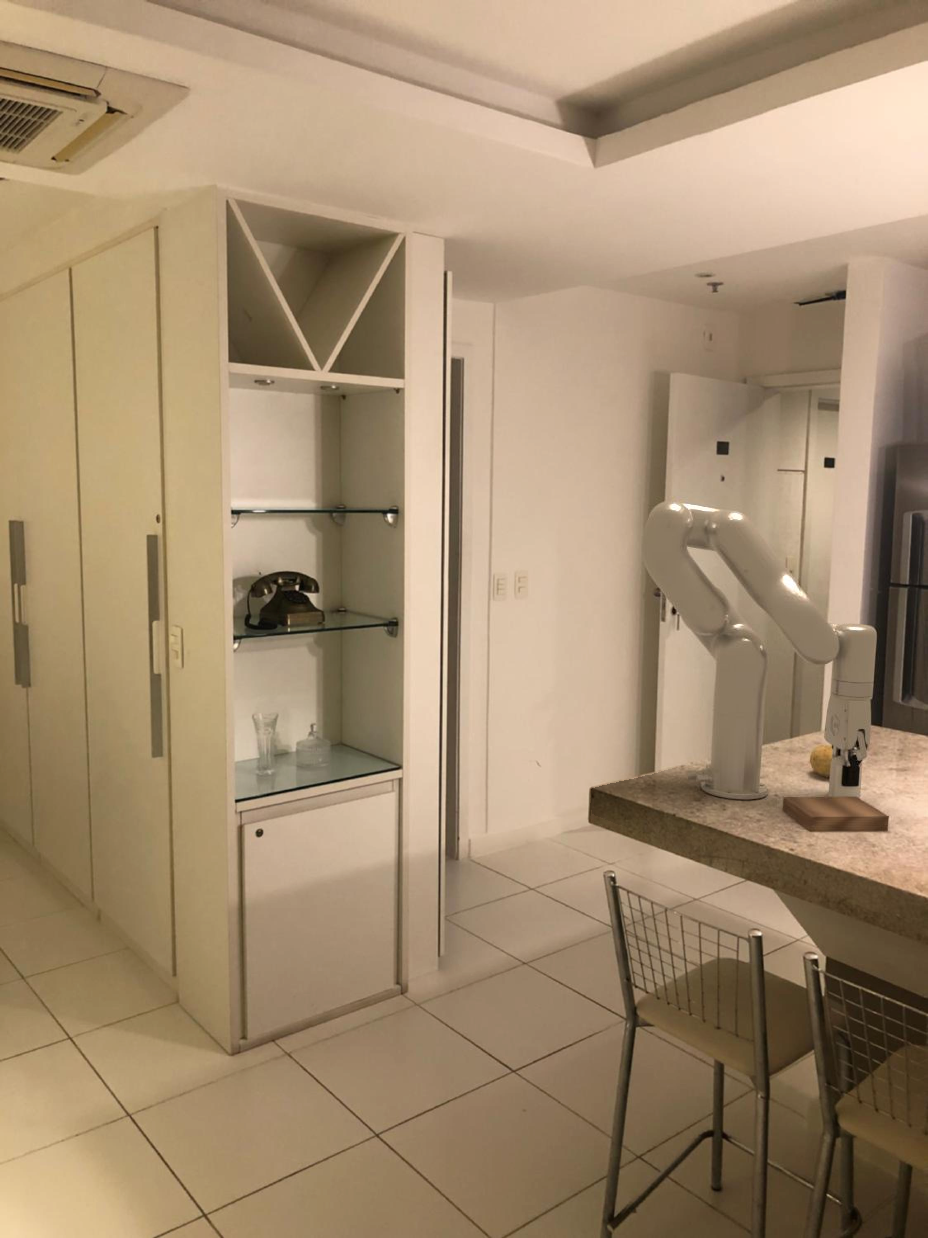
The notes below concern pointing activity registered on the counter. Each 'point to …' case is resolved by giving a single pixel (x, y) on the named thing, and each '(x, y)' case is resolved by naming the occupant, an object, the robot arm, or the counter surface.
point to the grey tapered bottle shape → (836, 779)
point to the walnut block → (835, 814)
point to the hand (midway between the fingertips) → (845, 782)
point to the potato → (822, 760)
